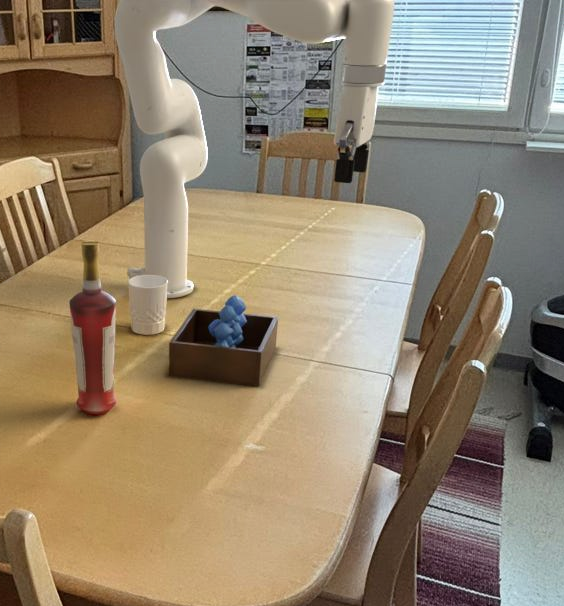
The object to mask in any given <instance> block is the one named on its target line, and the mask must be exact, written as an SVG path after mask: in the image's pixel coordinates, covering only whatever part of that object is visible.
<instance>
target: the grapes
mask: <svg viewBox="0 0 564 606" xmlns="http://www.w3.org/2000/svg"><path fill="white" fill-rule="evenodd" d="M246 310H247V306H246V304H245V301H244V299H242V298H240V297H239V296H237V295H234V294H233V295H231V296H230V297H229V298H228V299H227V300H226V301H225V302H224V307H223V308H221V309H220V310H219V311H220V312H219V315H220V318H221V319H220V320H218V319H217V320H214V321H213V322H212V323H211V324H210V325H209V326H208V328H209V331H210V333H211V335H212V336H214V337H216V340H217V343H216V344H215V345H214V346H223V347H232V348H236V347H235V346H237V345H239V344H240V343H241V342H242V341H243V336H242V333H243V332H242V329H241V327H242V326H243V325H245V323H246V322H247V321H246V318H245V316H244V314H245V313H244V312H245V311H246Z"/></svg>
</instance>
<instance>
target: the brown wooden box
mask: <svg viewBox="0 0 564 606" xmlns="http://www.w3.org/2000/svg"><path fill="white" fill-rule="evenodd" d="M220 311H221V310H211V309H201V308H200V309H199V308H193V309H192V310H191V311H190V313H189V314H188V315H187V317H186V319H184V321H183V322H182V324H181V325H180V327H179V328H177V331H176V332H175V333H174V335H173V336H172V338H171V339H170V340H169V342H168V376H169V377H175V378H184V379H192V380H200V381H201V380H203V381H209V382H217V383H227V384H233V385H242V386H243V385H244V386H250V387H260V385H261V382H262V380H263V379H264V376H265V374H266V371H267V369H268V367H269V364H270V363H271V360H272V358H273V355H274V353H275V351H276V350H277V349H276V348H277V336H278V327H279V326H278V325H279V316H273V315H264V314H263V315H262V314H252V313H243V314H244V316H245V318H246V321H247V322H246V323H245V325H243V326H242V327H241V329H242V332H243V333H242V336H243V341H242V342H241V343H240V344H239V345H237V346H235V347H236V348H232V347H223V346H214V345H215V344H216V343H217V340H216V337H214V336H212V335H211V333H210V331H209V328H208V326H209V325H210V324H211V323H212V322H213V321H214V320H217V319H218V320H220V319H221V318H220V315H219V312H220Z"/></svg>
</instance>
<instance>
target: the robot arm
mask: <svg viewBox="0 0 564 606" xmlns="http://www.w3.org/2000/svg"><path fill="white" fill-rule="evenodd" d="M216 6H217V7H219V8H223V9H225V10H228V11H230V12H233V13H236V14H239V15H242V16H244V17H247V18H249V19H250V20H251V21H252V22H254V23H256V24H258V25H259V26H261V27H262V28H264V29H267V30H268V31H270V32H272V33H275V34H277V35H281V36H283V37H286V38H289V39H292V40H295V41H297V42H301V43H304V44H309V45H317V44H321V43H325V42H331V41H336V40H342V39H345V42H344V48H343V49H344V51H343V56H342V57H343V58H342V67H341V75H340V76H341V77H340V85H341V86H343V87H342V90H341V94H340V100H339V103H338V104H339V105H338V111H337V117H336V121H335V122H336V123H335V130H334V135H333V136H334V138H333V144H334V145H335V146H338V148H337V154H336V160H335V170H334V179H333V180H334V182H335V183H340V184H351V183H352V182H353V177H354V173H365V172H366V171H367V166H368V160H369V153H370V146H371V145H370V140H371V138H372V137H373V133H374V128H375V122H376V121H375V120H376V114H377V103H378V95H379V93H378V92H379V87H382V86H384V85H385V78H386V70H387V62H388V54H389V48H390V42H391V34H392V29H393V28H392V27H393V21H394V12H395V0H119V2H118V4H117V6H116V10H115V13H114V19H113V20H114V24H113V25H114V28H113V29H114V35H115V41H116V44H117V48H118V51H119V54H120V58H121V61H122V66H123V70H124V75H125V79H126V80H125V81H126V83H127V84H126V85H127V88H128V93H129V97H130V98H129V99H130V103H131V107H132V110H133V115H134V119H135V122H136V124H137V127H138V128H139V130H140V131H141V132H143V133H144V134H147V135H159V134H163V137H164V139H162V140H158V141H156V142H155V143H152V144H150V146H149V147H148V148H146V150H145V151H144V153H143V155H142V156H141V159H140V162H139V175H140V182H141V188H142V195H143V196H142V197H143V220H144V221H143V222H144V229H143V230H144V231H143V233H144V240H143V241H144V267H141V268H136V267H128V268H127V270H126V271H127V272H126V275H127V277H128V280H129V279H130V278H132V277H135V276H140V275H157V276H161V277H164V278H166V279H167V281H168V285H167V299H175V298H180V297H185V296H187V295H189V294H191V293H192V292H193V291H194V284H193V282H192V281H191V280H190V279H188V278H187V277H188V276H187V275H188V241H189V240H188V239H189V238H188V235H189V234H188V233H189V232H188V231H189V204H188V198H187V194H186V191H185V184H186V183H188V182H190V181H192V180H195V179H197V178H198V177H199V176H200V175H202V174H203V173H204V171H205V169H206V167H207V164H208V155H209V153H208V146H207V139H206V134H205V130H204V124H203V120H202V119H203V118H202V114H201V109H200V105H199V101H198V97H197V95H196V93H195V91H194V90H193V88H192V87H191V85H190V84H188V83H187V82H186V81H184V80H182V79H179V78H170V74H169V69H168V66H167V59H166V55H165V53H164V49H163V48H162V46H161V44H160V43H159V41H158V39H157V36H156V32H158V31H159V30H167V29H173V28H178V27H179V28H180V27H182V26H184V25H187V24H188V23H190V22H192V21H193V20H195V19H196V18H198V17H199V16H201V15H202V14H205V13H206V12H207V11H209V10H210V9H213V7H216Z"/></svg>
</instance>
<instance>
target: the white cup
mask: <svg viewBox="0 0 564 606" xmlns="http://www.w3.org/2000/svg"><path fill="white" fill-rule="evenodd" d="M167 285H168V281H167V279H166V278H164V277H161V276H157V275H140V276H135V277H132V278H130V279H129V278H128V280H127V289H128V305H129V316H130V325H131V326H130V327H131V328H130V329H131V331H132V332H133V333H136V334H138V335H143V336H153V335H157V334H160V333H162V332H163V331H164V330H165V326H166V315H167V313H166V312H167V303H168V302H167V301H168V298H167Z"/></svg>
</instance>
